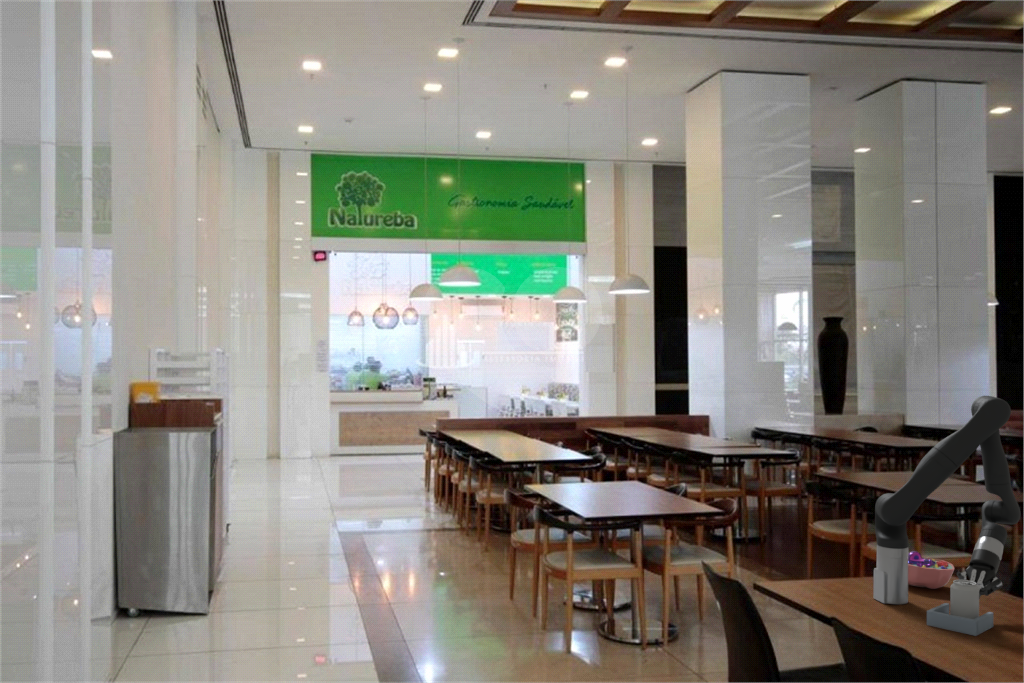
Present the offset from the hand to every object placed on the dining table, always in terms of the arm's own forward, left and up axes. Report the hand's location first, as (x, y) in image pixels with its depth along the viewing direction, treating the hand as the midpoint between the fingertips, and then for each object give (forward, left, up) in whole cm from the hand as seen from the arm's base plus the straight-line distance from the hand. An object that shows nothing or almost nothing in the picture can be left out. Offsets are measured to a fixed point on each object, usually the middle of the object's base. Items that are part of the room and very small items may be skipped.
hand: (971, 604), depth 268 cm
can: (-4, -2, -5) cm, 7 cm away
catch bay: (-6, -4, -5) cm, 9 cm away
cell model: (+8, +37, -5) cm, 39 cm away
